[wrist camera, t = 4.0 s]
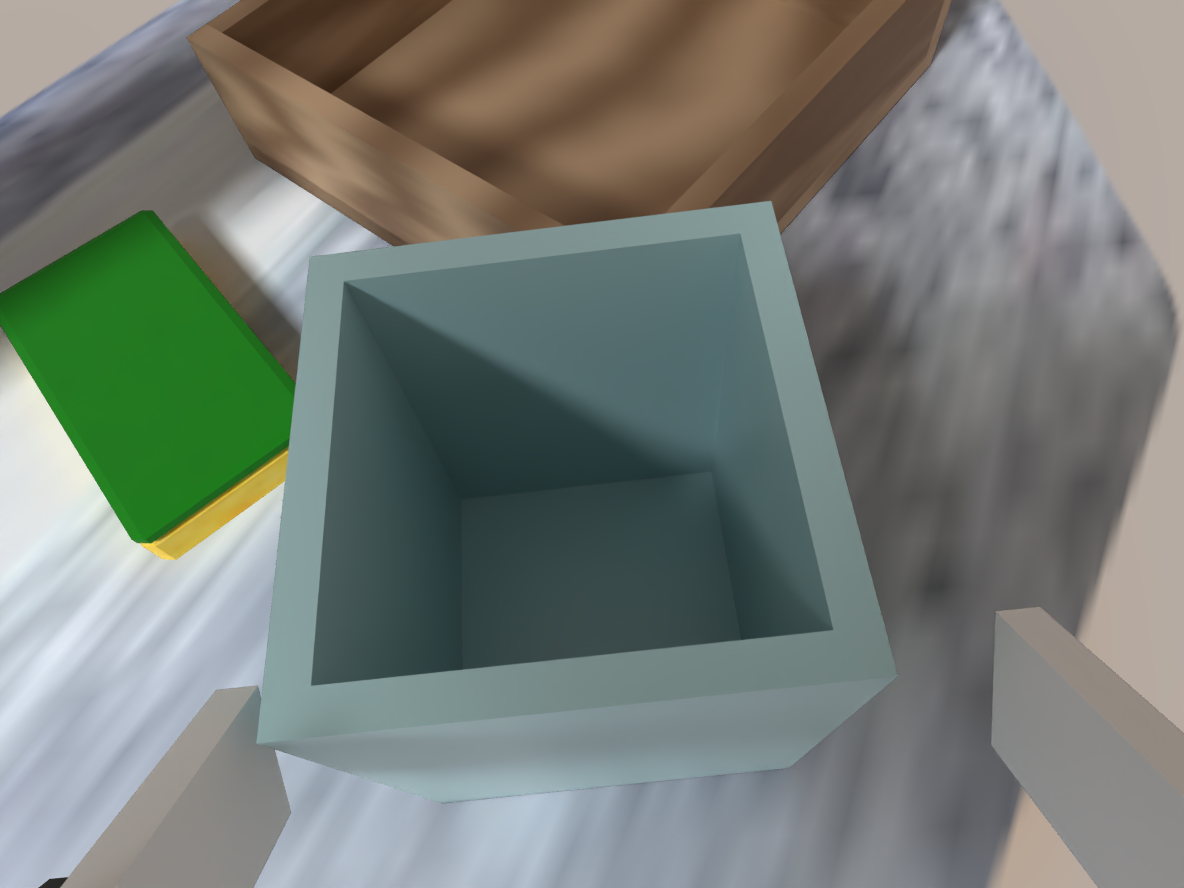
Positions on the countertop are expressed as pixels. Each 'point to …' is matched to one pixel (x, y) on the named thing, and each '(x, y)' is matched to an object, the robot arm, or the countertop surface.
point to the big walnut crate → (560, 103)
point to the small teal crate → (565, 515)
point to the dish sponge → (154, 383)
